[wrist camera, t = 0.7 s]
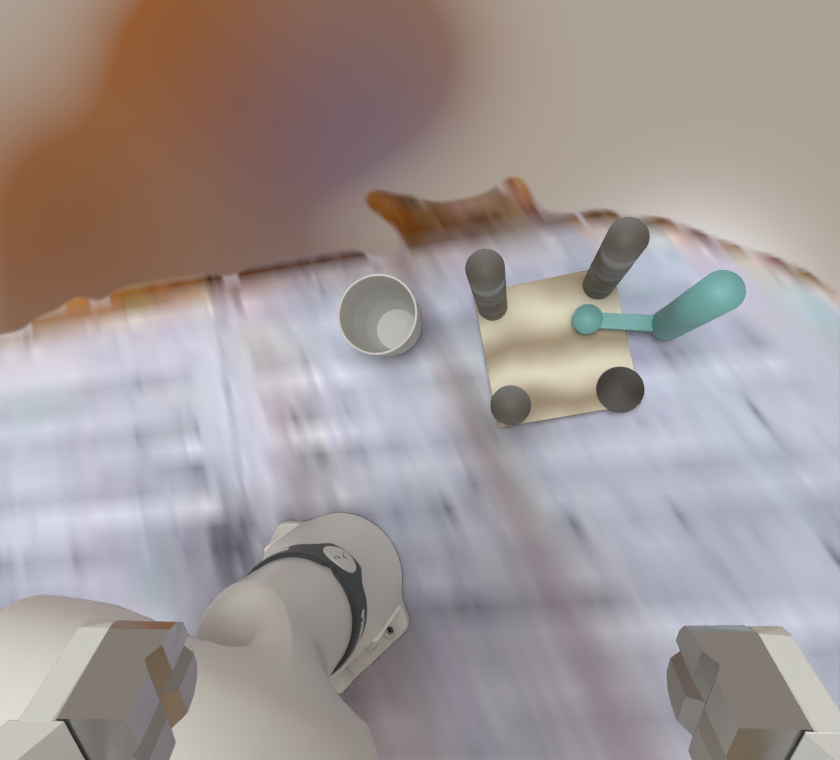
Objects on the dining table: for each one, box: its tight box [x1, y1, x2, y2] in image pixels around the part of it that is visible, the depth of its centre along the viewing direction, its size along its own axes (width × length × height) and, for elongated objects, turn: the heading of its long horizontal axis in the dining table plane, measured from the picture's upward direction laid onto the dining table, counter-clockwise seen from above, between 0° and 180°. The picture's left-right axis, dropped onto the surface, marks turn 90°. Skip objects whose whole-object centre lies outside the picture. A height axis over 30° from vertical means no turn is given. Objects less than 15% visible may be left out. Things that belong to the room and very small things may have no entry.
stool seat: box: [465, 217, 650, 428], centre depth 53 cm, size 16×16×18 cm
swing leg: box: [571, 270, 746, 341], centre depth 50 cm, size 11×3×16 cm, turn 85°
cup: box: [338, 274, 422, 357], centre depth 60 cm, size 8×8×10 cm
